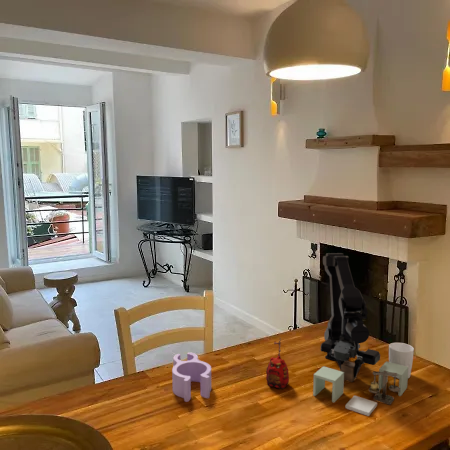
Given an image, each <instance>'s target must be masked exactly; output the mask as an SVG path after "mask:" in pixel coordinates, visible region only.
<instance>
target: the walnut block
mask: <svg viewBox="0 0 450 450" xmlns="http://www.w3.org/2000/svg"><path fill="white" fill-rule="evenodd" d="M354 368H355V363H354V361H349V360H348V361H345V362H344V363H343V364H342V365H341V372H344V381H347V382H350V383H353V382H354V381H355V380H356V379H357V377H358V376H356V377H355V378H354Z"/></svg>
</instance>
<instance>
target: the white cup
mask: <svg viewBox="0 0 450 450" xmlns="http://www.w3.org/2000/svg"><path fill="white" fill-rule="evenodd" d="M414 349H415V348H414V347H413V346H412V345H410V344H407V343H404V342H392V343H389V344H388V362H391V363H395V364H399V365H403V366H407V367H408V379H409V378H410V377H411V373H412V368H413V361H414ZM392 377H393V378H394V376H392ZM396 379H399V377H398V376H396Z"/></svg>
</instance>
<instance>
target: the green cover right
mask: <svg viewBox="0 0 450 450" xmlns="http://www.w3.org/2000/svg"><path fill="white" fill-rule="evenodd" d="M383 371H386V372H390V373H397V376H398V377H399V380H398V387H399V388H400V391H399V392H398V396H399V397H401V396H403V393H404V392H405V391H406V390H407V389H408V379H409V378H408V367H407V366H403V365H399V364H395V363H391V362H389V361H387V360H386V361H385V362H384V363H383V364H382V365H381V366H380V367H379V369H378V372H383ZM388 379H389V376H387V382H388ZM382 381H383V375H378V389H379V390H380V391H382Z"/></svg>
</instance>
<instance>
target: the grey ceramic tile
mask: <svg viewBox="0 0 450 450" xmlns="http://www.w3.org/2000/svg"><path fill="white" fill-rule="evenodd" d="M377 406H378V401H375V400H370V399H367V398H364V397H360V396H358V395H353V396H352V398H350V399H349V401H348V402H347V403H346V404H345V409H347V410H348V411H349V410H350V411H352V412H355V413H359V414H361V415H365V416H367V417H369V416H370V415H371V414H372V412H374V410H375V409H376V408H377Z"/></svg>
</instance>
